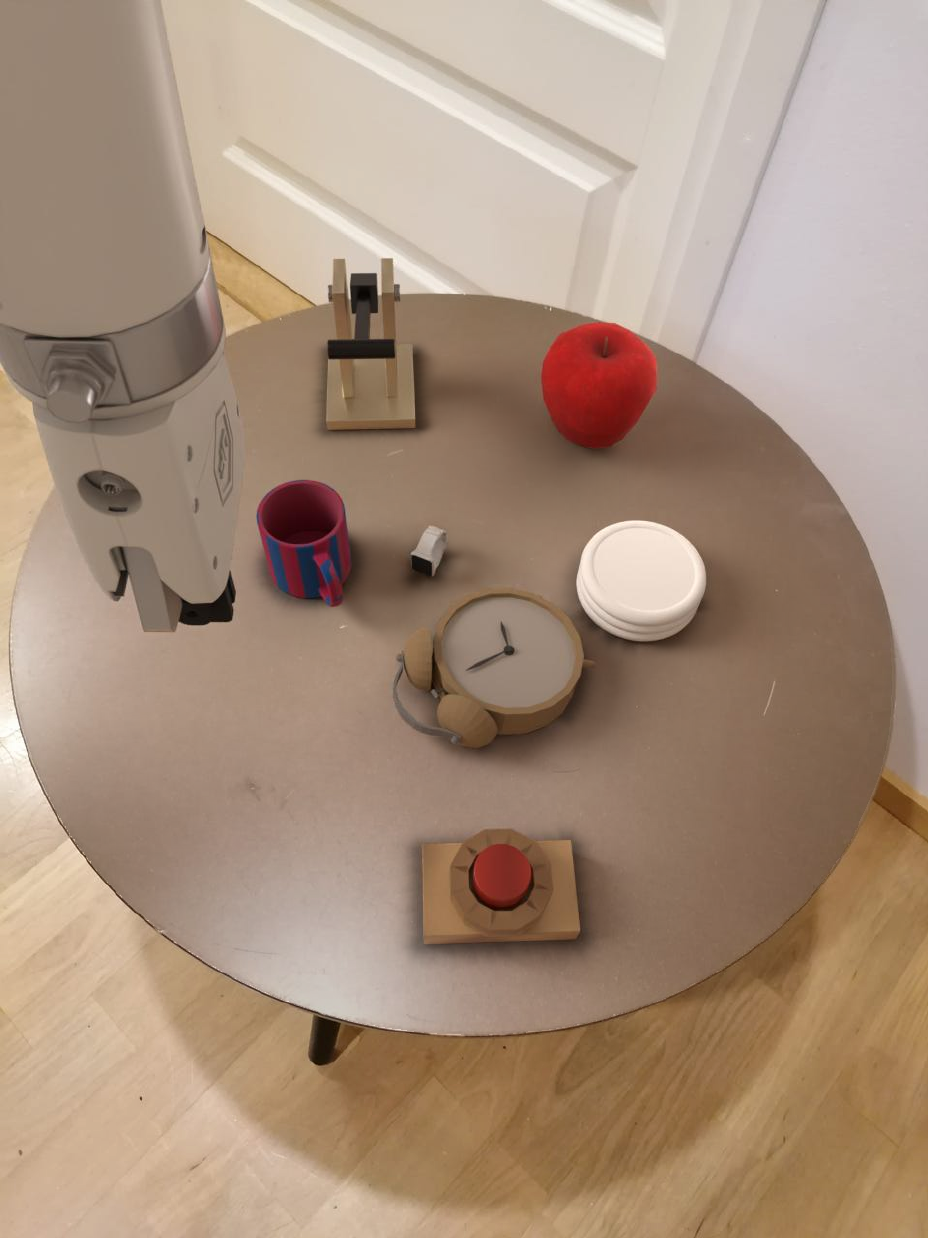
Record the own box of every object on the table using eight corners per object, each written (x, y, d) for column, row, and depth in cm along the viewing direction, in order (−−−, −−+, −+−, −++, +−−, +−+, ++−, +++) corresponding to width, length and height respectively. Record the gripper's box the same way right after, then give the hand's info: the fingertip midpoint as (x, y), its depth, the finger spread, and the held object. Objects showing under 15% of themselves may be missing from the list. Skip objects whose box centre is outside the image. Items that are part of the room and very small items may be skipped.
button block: (423, 948, 61) (423, 932, 57) (422, 851, 64) (421, 830, 61) (576, 943, 61) (585, 927, 58) (566, 847, 65) (574, 826, 61)
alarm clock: (617, 671, 69) (447, 752, 62) (597, 707, 73) (435, 787, 66) (531, 565, 74) (365, 630, 67) (517, 604, 78) (358, 668, 71)
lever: (395, 367, 71) (394, 337, 69) (328, 368, 71) (326, 338, 69) (394, 300, 81) (393, 272, 79) (336, 300, 80) (334, 273, 79)
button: (474, 909, 59) (475, 901, 57) (471, 853, 61) (472, 844, 59) (531, 907, 59) (533, 899, 57) (526, 851, 61) (529, 842, 59)
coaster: (714, 633, 75) (726, 609, 72) (594, 653, 73) (601, 630, 70) (674, 535, 80) (683, 509, 77) (561, 552, 78) (566, 526, 75)
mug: (338, 524, 79) (331, 470, 74) (373, 618, 74) (368, 568, 69) (260, 544, 78) (247, 491, 72) (290, 641, 73) (278, 592, 67)
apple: (516, 444, 85) (527, 350, 76) (562, 380, 90) (577, 284, 80) (616, 486, 83) (639, 395, 73) (657, 418, 87) (684, 324, 78)
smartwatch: (428, 544, 78) (428, 514, 75) (452, 552, 78) (452, 523, 75) (410, 576, 77) (409, 547, 73) (434, 585, 76) (433, 556, 73)
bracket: (415, 428, 86) (413, 314, 75) (327, 430, 85) (312, 315, 74) (412, 353, 91) (409, 236, 80) (329, 354, 90) (316, 237, 80)
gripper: (189, 479, 27) (265, 746, 43) (241, 180, 36) (290, 495, 51) (-75, 474, 27) (98, 745, 42) (39, 172, 35) (149, 492, 50)
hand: (202, 608), depth 47 cm, fingers closed
